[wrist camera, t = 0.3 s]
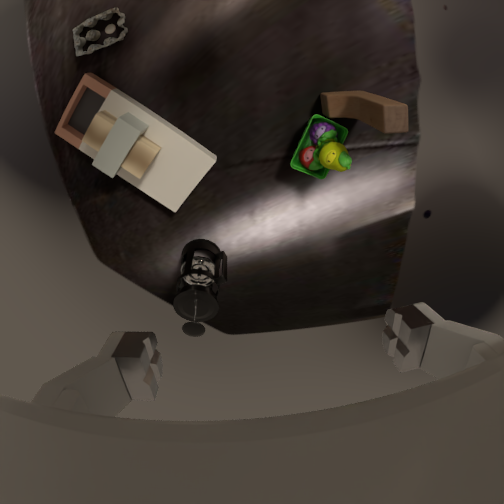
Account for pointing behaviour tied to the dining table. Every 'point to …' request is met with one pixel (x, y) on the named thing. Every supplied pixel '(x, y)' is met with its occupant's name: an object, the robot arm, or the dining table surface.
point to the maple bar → (137, 155)
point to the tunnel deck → (169, 158)
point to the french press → (199, 285)
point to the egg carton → (95, 34)
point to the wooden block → (367, 109)
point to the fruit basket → (321, 148)
